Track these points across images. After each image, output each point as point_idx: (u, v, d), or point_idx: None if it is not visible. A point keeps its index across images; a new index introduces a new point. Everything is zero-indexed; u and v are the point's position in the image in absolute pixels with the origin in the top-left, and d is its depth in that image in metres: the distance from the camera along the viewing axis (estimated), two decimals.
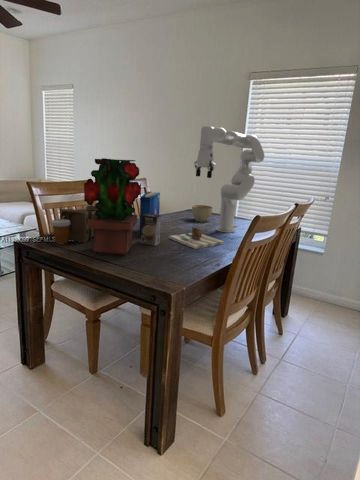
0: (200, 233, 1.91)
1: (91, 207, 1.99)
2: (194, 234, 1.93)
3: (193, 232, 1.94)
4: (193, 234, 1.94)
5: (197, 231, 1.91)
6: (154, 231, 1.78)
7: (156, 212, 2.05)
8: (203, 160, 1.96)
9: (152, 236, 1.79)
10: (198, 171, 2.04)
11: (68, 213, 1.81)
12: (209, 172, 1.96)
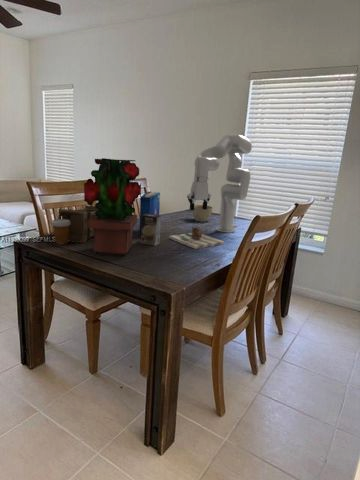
0: (200, 233, 1.91)
1: (89, 207, 1.98)
2: (194, 234, 1.93)
3: (193, 232, 1.94)
4: (193, 234, 1.94)
5: (197, 231, 1.91)
6: (154, 231, 1.78)
7: (156, 212, 2.05)
8: (203, 192, 1.86)
9: (152, 236, 1.79)
10: None
11: (66, 213, 1.80)
12: (206, 204, 1.91)
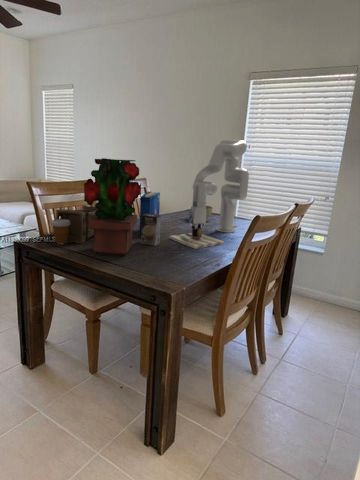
0: (200, 233, 1.91)
1: (88, 207, 1.97)
2: None
3: None
4: None
5: (197, 231, 1.91)
6: (154, 231, 1.78)
7: (156, 212, 2.05)
8: (202, 217, 1.89)
9: (152, 236, 1.79)
10: None
11: (65, 214, 1.79)
12: None
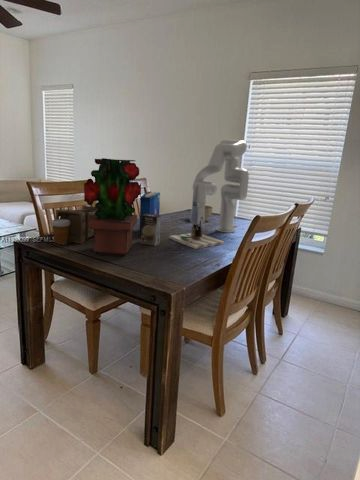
0: None
1: (87, 207, 1.96)
2: None
3: (194, 233, 1.92)
4: (194, 235, 1.92)
5: None
6: (154, 231, 1.78)
7: (156, 212, 2.05)
8: None
9: (152, 236, 1.79)
10: None
11: (64, 214, 1.78)
12: None
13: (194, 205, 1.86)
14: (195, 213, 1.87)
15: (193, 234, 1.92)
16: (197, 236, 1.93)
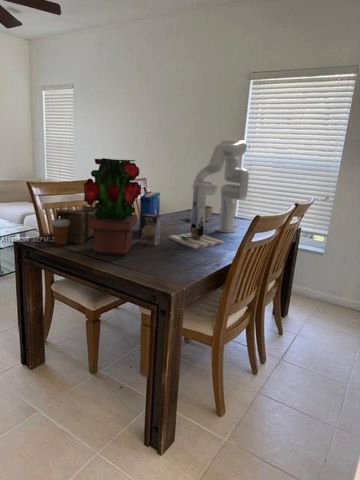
0: None
1: (87, 207, 1.96)
2: (196, 235, 1.92)
3: (194, 233, 1.92)
4: (195, 235, 1.92)
5: None
6: (154, 231, 1.78)
7: (156, 212, 2.05)
8: None
9: (152, 236, 1.79)
10: None
11: (64, 214, 1.78)
12: None
13: (194, 205, 1.86)
14: (195, 213, 1.87)
15: (193, 234, 1.92)
16: (197, 236, 1.93)
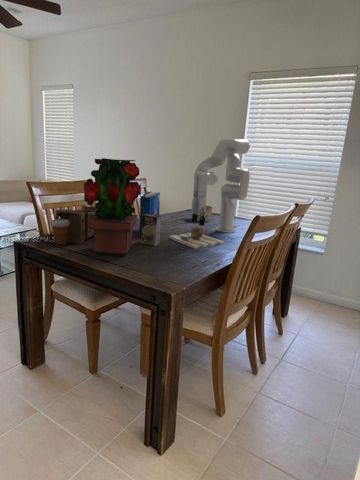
0: None
1: (87, 208, 1.96)
2: (196, 235, 1.92)
3: (195, 233, 1.92)
4: (195, 235, 1.92)
5: (200, 231, 1.92)
6: (154, 231, 1.78)
7: (156, 212, 2.05)
8: None
9: (152, 236, 1.79)
10: None
11: (64, 214, 1.78)
12: None
13: (195, 195, 1.85)
14: (196, 203, 1.86)
15: (193, 234, 1.92)
16: (197, 236, 1.93)
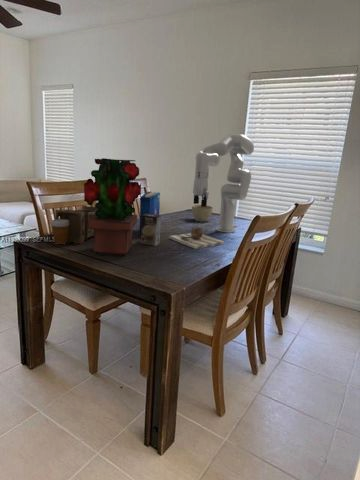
0: None
1: (87, 208, 1.96)
2: (196, 235, 1.92)
3: (195, 233, 1.92)
4: (195, 235, 1.92)
5: (200, 231, 1.92)
6: (154, 231, 1.78)
7: (156, 212, 2.05)
8: None
9: (152, 236, 1.79)
10: None
11: (64, 214, 1.78)
12: None
13: (197, 176, 1.85)
14: (198, 184, 1.86)
15: (193, 234, 1.92)
16: (197, 236, 1.93)
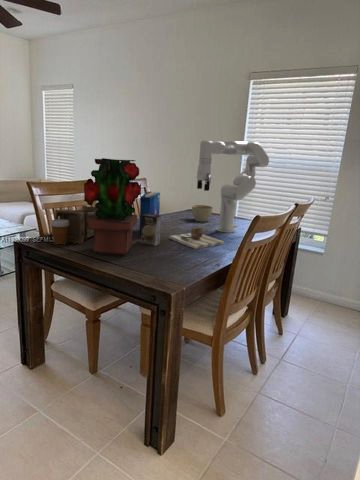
0: None
1: (87, 208, 1.96)
2: (196, 235, 1.92)
3: (195, 233, 1.92)
4: (195, 235, 1.92)
5: (200, 231, 1.92)
6: (154, 231, 1.78)
7: (156, 212, 2.05)
8: None
9: (152, 236, 1.79)
10: None
11: (63, 214, 1.78)
12: None
13: (201, 162, 2.00)
14: (202, 169, 2.01)
15: (193, 234, 1.92)
16: (197, 236, 1.93)
